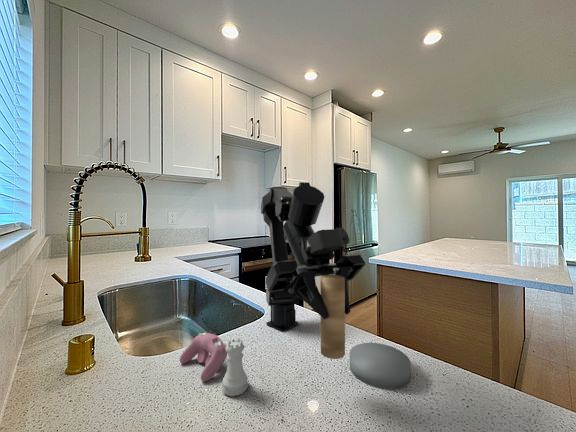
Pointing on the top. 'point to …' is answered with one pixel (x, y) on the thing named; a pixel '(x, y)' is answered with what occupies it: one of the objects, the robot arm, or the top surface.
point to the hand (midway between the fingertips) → (337, 315)
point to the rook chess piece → (234, 370)
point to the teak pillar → (333, 316)
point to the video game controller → (206, 353)
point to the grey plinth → (380, 365)
